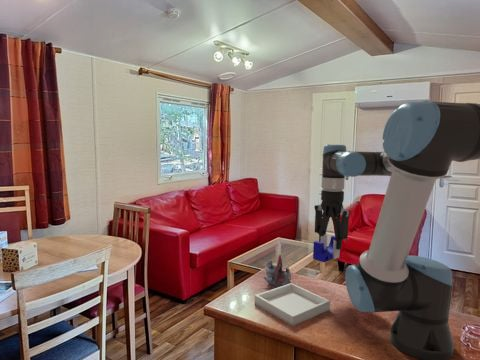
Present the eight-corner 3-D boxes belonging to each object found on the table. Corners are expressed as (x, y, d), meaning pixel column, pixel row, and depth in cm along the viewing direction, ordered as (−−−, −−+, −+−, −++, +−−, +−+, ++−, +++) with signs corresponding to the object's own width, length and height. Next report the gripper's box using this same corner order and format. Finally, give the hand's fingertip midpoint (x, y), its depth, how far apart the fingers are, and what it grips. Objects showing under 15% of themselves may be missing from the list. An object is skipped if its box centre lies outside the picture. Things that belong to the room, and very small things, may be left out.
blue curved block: (324, 262, 117) (325, 244, 117) (312, 258, 121) (313, 241, 120) (343, 254, 125) (344, 238, 125) (332, 251, 129) (333, 235, 128)
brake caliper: (294, 284, 126) (275, 256, 126) (270, 299, 129) (251, 271, 130) (298, 273, 136) (280, 247, 137) (275, 286, 140) (258, 261, 140)
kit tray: (329, 309, 113) (330, 300, 112) (292, 326, 102) (292, 316, 102) (291, 290, 126) (291, 282, 126) (254, 303, 116) (254, 295, 115)
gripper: (362, 192, 116) (358, 260, 119) (319, 186, 130) (316, 247, 133) (348, 194, 111) (344, 265, 114) (305, 187, 125) (302, 251, 128)
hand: (329, 255), depth 123 cm, fingers closed on blue curved block, 5 cm apart
